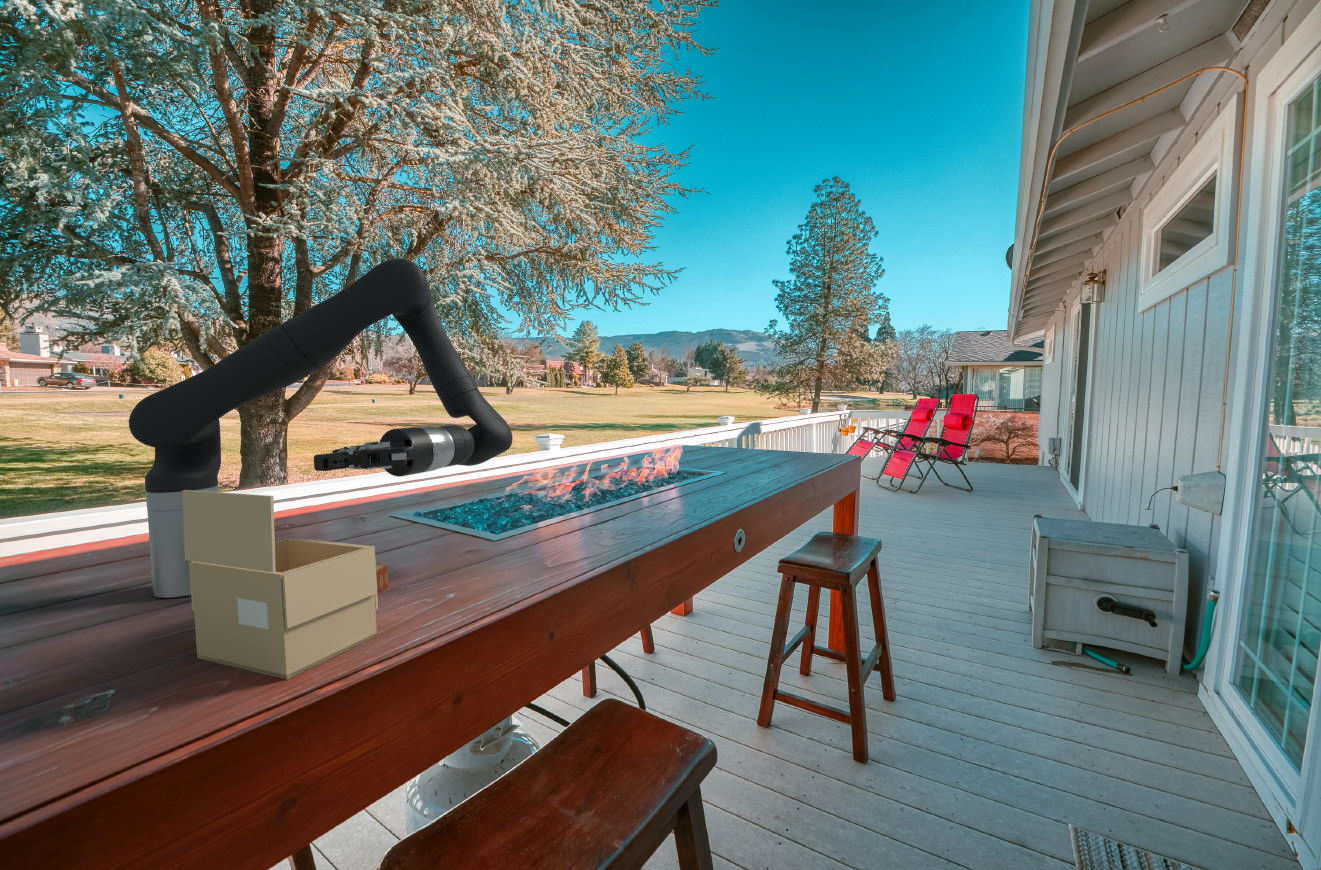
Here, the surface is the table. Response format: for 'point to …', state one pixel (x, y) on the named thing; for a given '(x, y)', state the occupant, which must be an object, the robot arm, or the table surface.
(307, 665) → the kraft box
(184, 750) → the table surface
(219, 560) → the near flap
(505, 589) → the table surface
